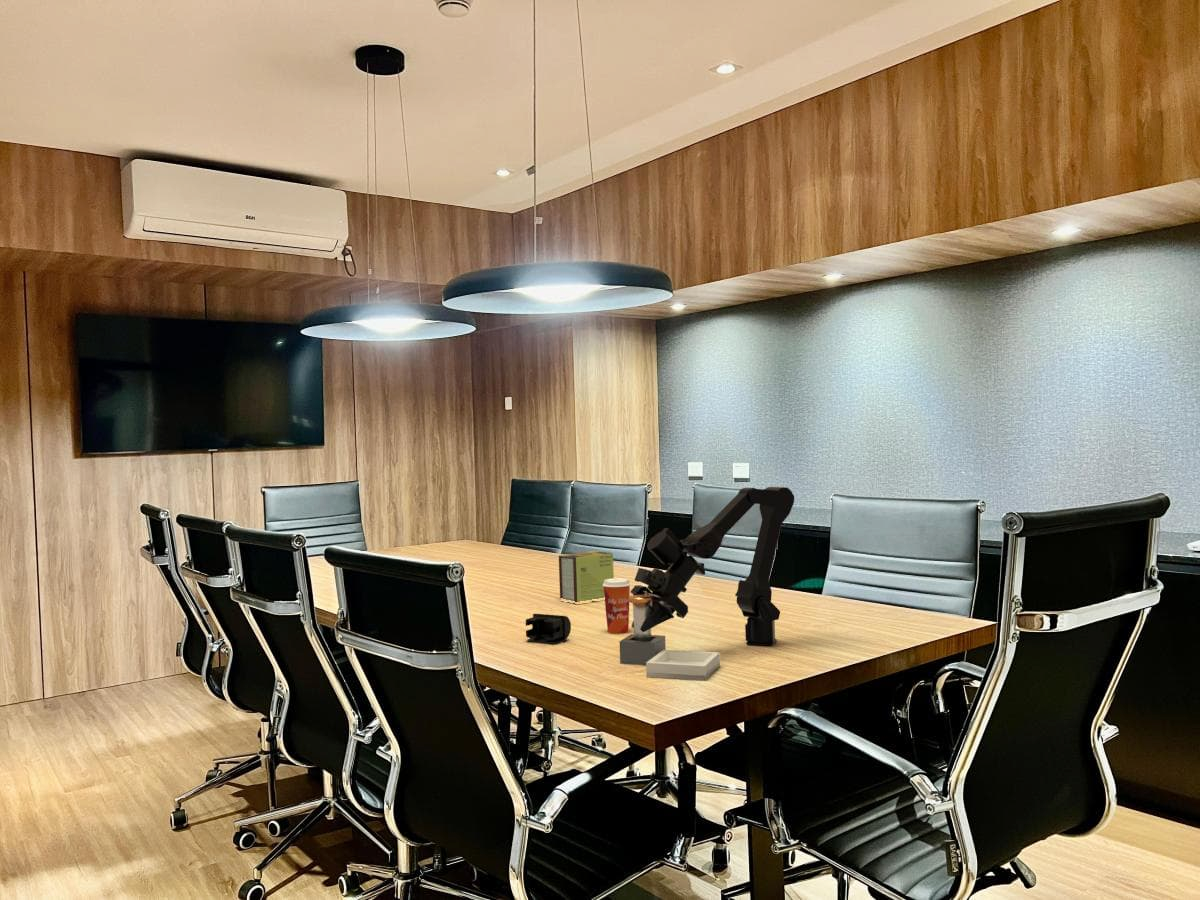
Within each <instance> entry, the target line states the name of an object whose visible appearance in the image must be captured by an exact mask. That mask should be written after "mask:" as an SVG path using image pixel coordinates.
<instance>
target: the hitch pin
mask: <svg viewBox="0 0 1200 900" xmlns="http://www.w3.org/2000/svg"><path fill="white" fill-rule="evenodd" d="M652 599H653V596H652V595H633V594H632V595H629V604H630V603H631V604H632V617H633V620H632V623H633V622H634V628H633V634H634V641H651V635H652V628H651V629H649V630H647V631H645V632H642V631H641V630H640V628H641V626H642V624H643V623H644V621H645V619H646V618H647V616H648V614H649V613H650V602H652Z"/></svg>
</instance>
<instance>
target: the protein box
mask: <svg viewBox="0 0 1200 900" xmlns="http://www.w3.org/2000/svg"><path fill="white" fill-rule="evenodd" d="M558 570H559V571H558V575H559V576H558V577H559V579H558V581H559V599H560V598H563V599H566V600H571V601H575V602H580V601H586V600H592V599H599V598H604V597H605V595H604V586H603V584H604V580H606V579H614V576H615V575H614V574H615V573H614V553H613V552H607V551H606V552H605V551H598V550H591V551H585V552H574V553H566V554H559V555H558Z"/></svg>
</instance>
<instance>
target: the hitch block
mask: <svg viewBox="0 0 1200 900" xmlns="http://www.w3.org/2000/svg"><path fill="white" fill-rule="evenodd" d="M618 643H619V664H627V665H628V664H629V665H645V666H646V662H648V661H649V660H650V659H652V658H653V657H654V656H656V655H657V654H659V653H660V652H661V651H663V650H667V648H666V647H667V646H666V635H659V634H651V641H634V633H632V634H631V633H630V634H629V635H628V636H626V637H625V638H623V639H621V640H620V641H619V642H618Z"/></svg>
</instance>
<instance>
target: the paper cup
mask: <svg viewBox="0 0 1200 900" xmlns="http://www.w3.org/2000/svg"><path fill="white" fill-rule="evenodd" d="M631 585H632V583H631V581H630V580H629V579H628V578H620V577H619V578H617V577H616V578H614V579H606V580H604V584H603V586H604V595H605V601H604V605H605V607H604V608H605V609H604V610H605V615H606V626H607V632H609V634H615V635H616V634H617V635H618V634H620V633H622V634H626V633H628V632H629V629H630V628H629V625H630V602H629V597H630V594H631V590H630V589H631V587H630V586H631ZM620 635H621V634H620Z"/></svg>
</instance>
